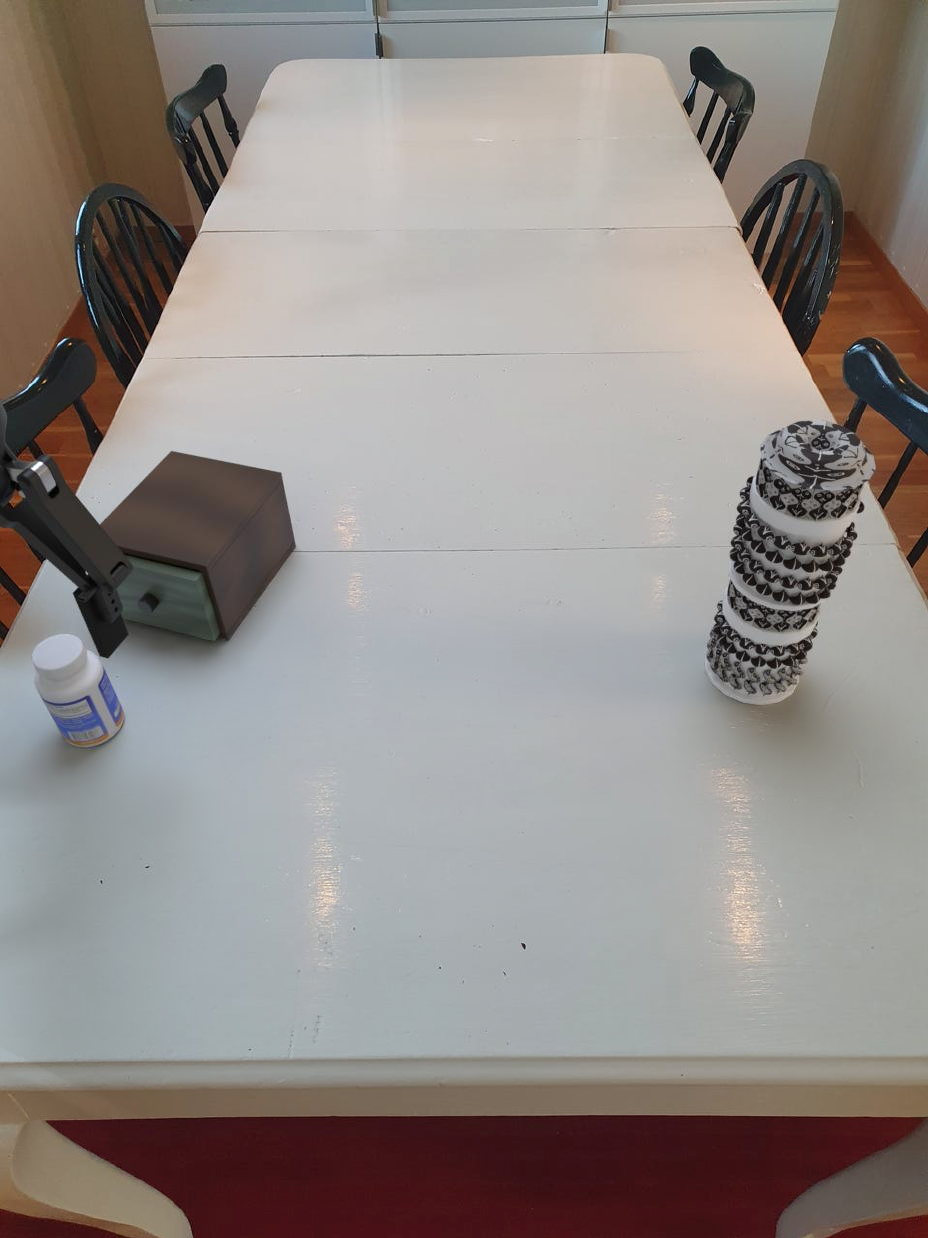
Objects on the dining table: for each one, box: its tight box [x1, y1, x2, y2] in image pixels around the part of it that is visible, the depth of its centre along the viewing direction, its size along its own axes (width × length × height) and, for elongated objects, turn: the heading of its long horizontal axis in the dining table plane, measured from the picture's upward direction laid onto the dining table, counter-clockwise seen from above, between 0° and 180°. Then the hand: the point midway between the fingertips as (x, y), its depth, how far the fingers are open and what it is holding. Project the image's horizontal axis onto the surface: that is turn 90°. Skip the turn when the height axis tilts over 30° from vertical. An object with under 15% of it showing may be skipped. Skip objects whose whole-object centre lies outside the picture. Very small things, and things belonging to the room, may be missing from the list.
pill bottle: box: [31, 633, 125, 748], centre depth 76 cm, size 5×5×10 cm
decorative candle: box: [704, 419, 877, 706], centre depth 74 cm, size 9×9×25 cm
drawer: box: [116, 553, 221, 642], centre depth 88 cm, size 15×11×8 cm
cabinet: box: [99, 450, 297, 641], centre depth 90 cm, size 15×13×10 cm
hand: (40, 626), depth 71 cm, fingers open, 13 cm apart
